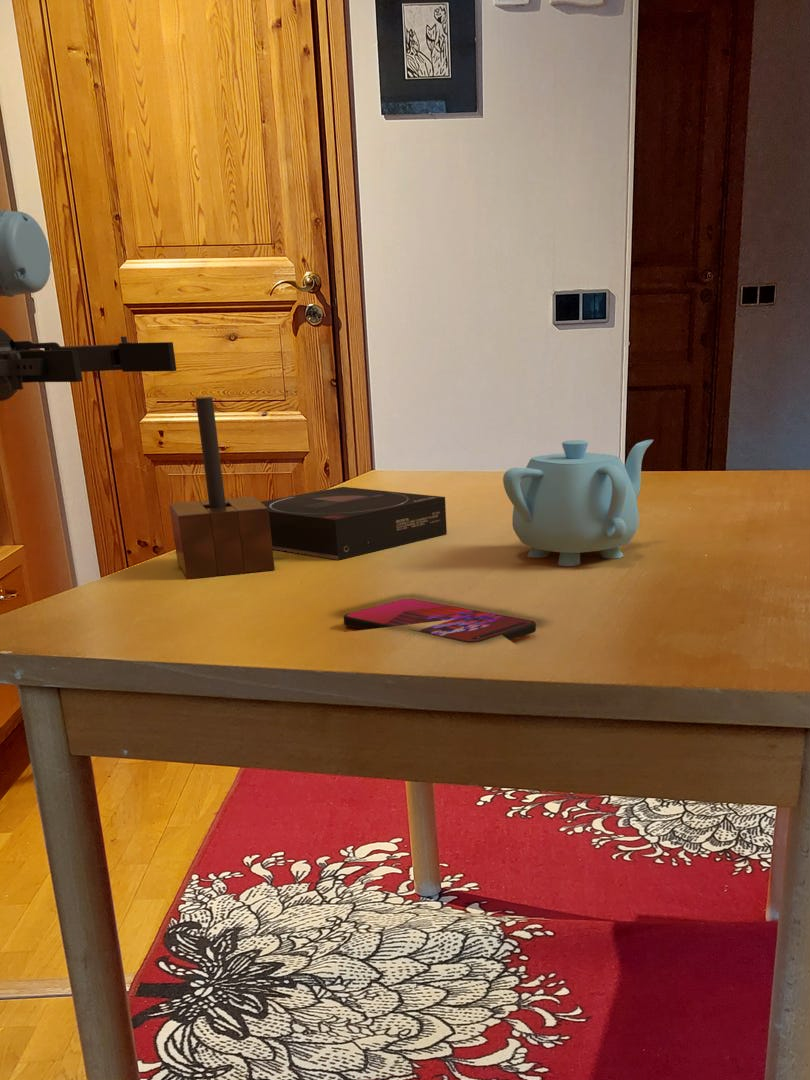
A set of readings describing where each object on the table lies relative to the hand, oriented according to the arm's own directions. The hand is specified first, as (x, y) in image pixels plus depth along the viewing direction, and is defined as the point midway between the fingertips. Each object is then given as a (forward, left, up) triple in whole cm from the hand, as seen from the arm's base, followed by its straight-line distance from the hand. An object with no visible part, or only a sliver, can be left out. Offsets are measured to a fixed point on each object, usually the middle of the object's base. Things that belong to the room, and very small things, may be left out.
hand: (127, 361), depth 114 cm
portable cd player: (+20, +3, -19) cm, 28 cm away
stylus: (+6, -6, -19) cm, 21 cm away
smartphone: (+18, -40, -19) cm, 48 cm away
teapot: (+40, -18, -19) cm, 48 cm away
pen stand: (+6, -6, -19) cm, 21 cm away
